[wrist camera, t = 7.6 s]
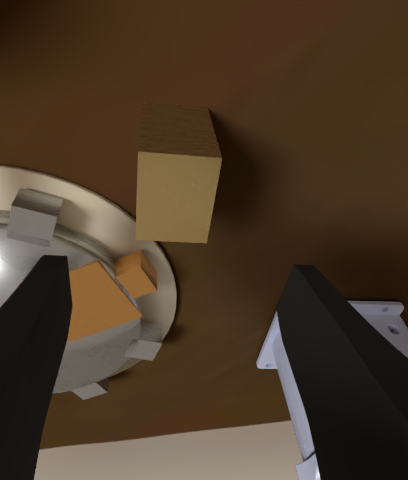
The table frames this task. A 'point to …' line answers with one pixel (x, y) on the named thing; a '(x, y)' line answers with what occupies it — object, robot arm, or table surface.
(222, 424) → the table surface
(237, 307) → the table surface
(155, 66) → the table surface
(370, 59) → the table surface
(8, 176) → the base plate
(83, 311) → the sprocket
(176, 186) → the wooden block
